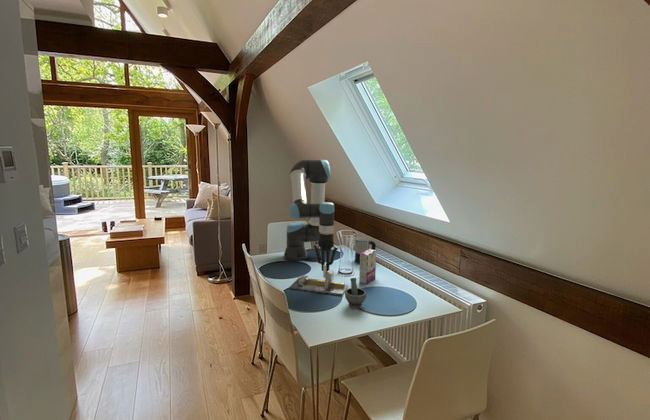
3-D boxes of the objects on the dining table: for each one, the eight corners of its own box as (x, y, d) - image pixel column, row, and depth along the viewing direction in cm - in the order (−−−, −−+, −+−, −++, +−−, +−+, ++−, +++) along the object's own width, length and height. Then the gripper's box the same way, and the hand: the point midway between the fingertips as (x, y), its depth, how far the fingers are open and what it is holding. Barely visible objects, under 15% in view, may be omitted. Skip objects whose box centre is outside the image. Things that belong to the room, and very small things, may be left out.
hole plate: (297, 280, 192) (297, 278, 191) (347, 287, 184) (347, 285, 184) (289, 288, 180) (289, 286, 180) (342, 296, 172) (342, 293, 172)
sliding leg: (327, 282, 186) (328, 270, 184) (333, 283, 185) (333, 270, 184) (323, 288, 178) (323, 275, 177) (328, 289, 177) (329, 276, 176)
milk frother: (360, 264, 220) (361, 241, 217) (344, 258, 232) (345, 236, 230) (377, 260, 228) (378, 238, 225) (361, 254, 240) (361, 233, 238)
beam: (300, 280, 189) (300, 275, 188) (345, 286, 182) (345, 280, 181) (295, 285, 182) (295, 279, 182) (341, 291, 175) (341, 286, 175)
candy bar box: (367, 276, 200) (368, 248, 197) (375, 278, 197) (376, 250, 194) (358, 282, 191) (359, 253, 188) (366, 284, 188) (368, 255, 185)
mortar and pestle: (367, 310, 158) (369, 285, 156) (347, 311, 156) (348, 286, 154) (361, 299, 169) (362, 275, 167) (342, 300, 167) (343, 276, 165)
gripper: (311, 233, 177) (311, 277, 181) (336, 235, 173) (335, 280, 177) (316, 230, 184) (315, 272, 188) (340, 232, 180) (339, 275, 184)
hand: (325, 276), depth 183 cm, fingers closed
